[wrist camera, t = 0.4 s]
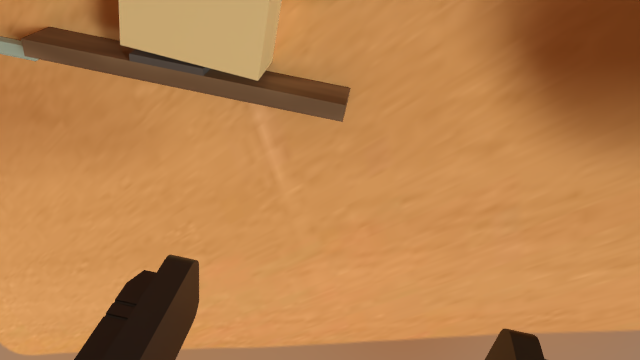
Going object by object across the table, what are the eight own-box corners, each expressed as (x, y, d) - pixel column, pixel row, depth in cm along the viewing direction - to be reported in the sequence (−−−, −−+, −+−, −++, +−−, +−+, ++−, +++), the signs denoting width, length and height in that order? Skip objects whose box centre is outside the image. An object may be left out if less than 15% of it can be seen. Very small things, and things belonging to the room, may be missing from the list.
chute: (23, -125, 28) (-14, -126, 26) (379, -58, 27) (376, -52, 25) (52, 43, 34) (24, 56, 32) (347, 103, 33) (342, 121, 31)
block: (149, -67, 29) (116, -60, 26) (287, -31, 29) (272, -20, 26) (149, 28, 33) (120, 44, 29) (273, 60, 33) (258, 80, 29)
